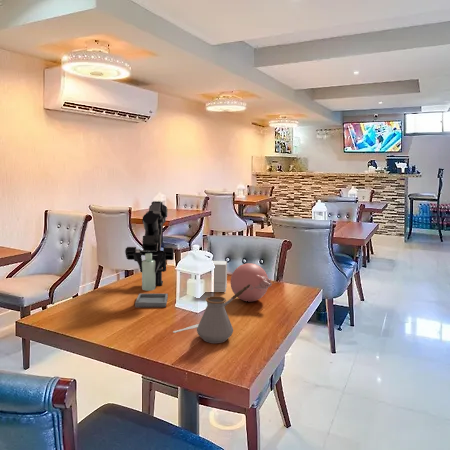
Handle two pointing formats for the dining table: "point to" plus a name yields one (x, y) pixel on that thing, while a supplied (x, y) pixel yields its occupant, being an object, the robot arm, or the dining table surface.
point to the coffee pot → (217, 319)
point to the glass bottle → (148, 273)
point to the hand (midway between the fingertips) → (148, 271)
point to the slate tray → (151, 300)
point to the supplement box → (220, 276)
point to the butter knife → (187, 328)
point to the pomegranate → (250, 282)
